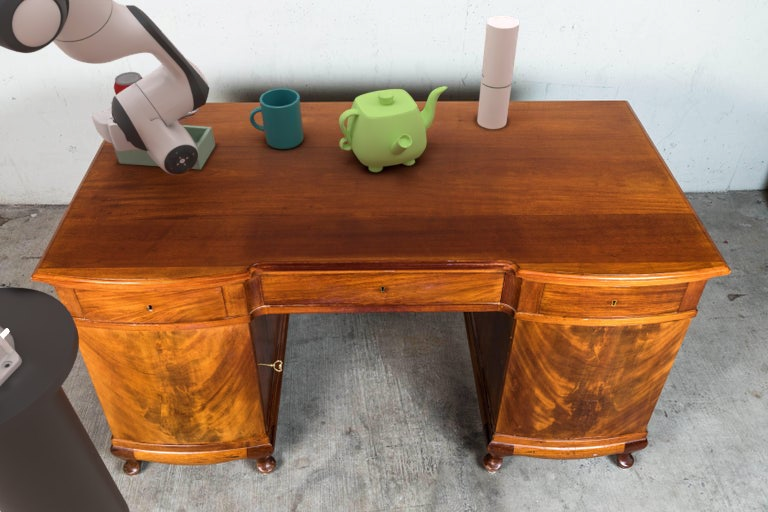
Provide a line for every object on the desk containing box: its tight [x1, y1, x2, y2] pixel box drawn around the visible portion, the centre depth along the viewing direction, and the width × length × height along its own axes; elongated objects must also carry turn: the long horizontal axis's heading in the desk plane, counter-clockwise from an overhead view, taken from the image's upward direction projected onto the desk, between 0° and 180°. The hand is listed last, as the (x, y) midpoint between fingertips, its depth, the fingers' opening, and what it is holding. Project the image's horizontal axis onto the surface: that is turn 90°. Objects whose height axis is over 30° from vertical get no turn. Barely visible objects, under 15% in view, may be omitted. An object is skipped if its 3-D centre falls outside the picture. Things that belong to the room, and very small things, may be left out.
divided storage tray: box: [112, 124, 216, 170], centre depth 150 cm, size 10×19×5 cm, turn 82°
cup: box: [249, 87, 305, 150], centre depth 152 cm, size 9×12×11 cm
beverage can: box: [113, 71, 143, 96], centre depth 144 cm, size 7×7×12 cm
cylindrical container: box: [476, 14, 520, 130], centre depth 153 cm, size 7×7×25 cm
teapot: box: [338, 85, 448, 173], centre depth 144 cm, size 25×22×16 cm
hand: (133, 99), depth 144 cm, fingers closed on beverage can, 7 cm apart
